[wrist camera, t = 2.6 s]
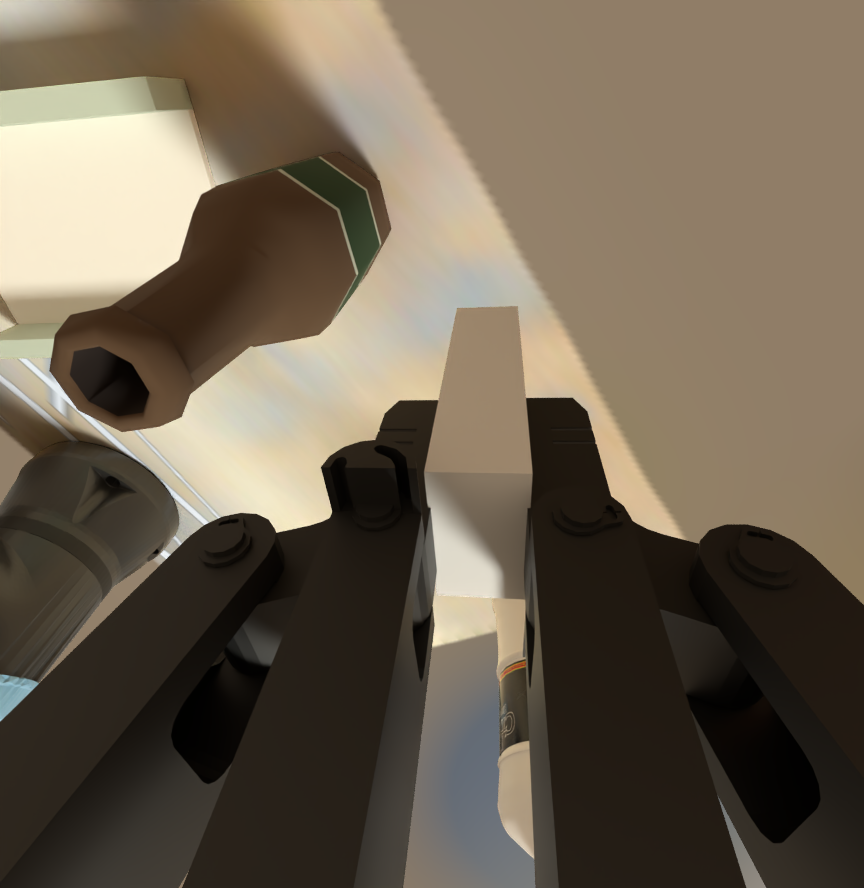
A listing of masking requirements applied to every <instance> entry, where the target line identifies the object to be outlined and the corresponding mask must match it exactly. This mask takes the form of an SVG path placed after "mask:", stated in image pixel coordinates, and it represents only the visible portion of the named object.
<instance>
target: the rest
mask: <svg viewBox="0 0 864 888" xmlns="http://www.w3.org/2000/svg"><path fill="white" fill-rule="evenodd" d="M214 187H216V186H215V183H214V179H213V176H212V173H211V169H210V166H209V162H208V159H207V155H206V152H205V149H204V145H203V142H202V138H201V135H200V132H199V128H198V125H197V121H196V118H195V114H194V111H193V108H192V104H191V101H190V97H189V94H188V90H187V87H186V84H185V80H184V79H177V78H163V77H149V76H142V77H132V78H123V79H113V80H103V81H94V82H84V83H74V84H65V85H55V86H45V87H36V88H26V89H16V90H7V91H0V294H1V296H2V298H3V300H4V301H5V303H6V305H7V306H8V308H9V310H10V311H11V313H12V315H13V317H14V318H15V320H16V322H17V323H18V324H17V325H15V326H13V327H11V328H9V329H7V330H4V331H2V332H0V359H20V358H51V357H52V351H53V344H54V337H55V334H56V332H57V331H58V330H59V329H60V327H61V326H62V325H63V323H64V322H65V321H66V320H67V318H68V317H69V316H70V315H72V314H76V313H81V312H86V311H90V310H95V309H100V308H105V307H109V306H111V305H113V304H114V303H116V302H117V301H119V300H120V299H122V298H123V297H125V296H126V295H128V294H129V293H131V292H132V291H134V290H135V289H137V288H138V287H140V286H141V285H143V284H144V283H146V282H147V281H149V280H150V279H152V278H153V277H155V276H156V275H158V274H159V273H161V272H162V271H164V270H165V269H167V268H168V267H170V266H171V265H173V264H174V263H176V262H177V261H178V260H179V258H180V255H181V251H182V248H183V244H184V241H185V238H186V234H187V231H188V228H189V224H190V221H191V217H192V214H193V211H194V209H195V207H196V205H197V203H198V200H199V198H200V196H201V194H203V193H205V192H207V191H209V190H210V189H212V188H214Z"/></svg>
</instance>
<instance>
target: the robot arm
mask: <svg viewBox="0 0 864 888" xmlns="http://www.w3.org/2000/svg"><path fill="white" fill-rule="evenodd" d="M321 469H322V473H323V477H324V481H325V485H326V489H327V492H328V496H329V500H330V504H331V508H332V514H331V517H330V518H329V519H327V520H325V521H323V522H320V523H317V524H314V525H310V526H306V527H302V528H297V529H292V530H288V531H283V532H278V533H276V531H275V529H274V527H273V526H272V524H271V523H270V521H269V520H268V519H266V518H264V517H262V516H260V515H257V514H248V513H238V514H234V515H229V516H224V517H221V518H219V519H217V520H214V521H212V522H210V523H208V524H206V525H204V526H203V527H201V528H200V529H199V530H197V531H196V532H195V533H193V534H192V535H191V536H190V537H189V538H188V539H186V540H185V541H184V542H183V543H182V544H181V545H180V546H179V547H178V548H177V549H176V550H175V551H174V552H173V553H172V554H171V555H170V556H169V557H168V558H167V559H166V560H165V561H164V562H163V563H162V564H161V565H160V566H159V567H158V568H157V569H156V570H155V571H154V572H153V573H152V574H151V575H150V576H149V577H148V578H147V579H146V580H145V581H144V582H143V583H142V584H140V585H139V586H138V587H137V588H136V589H135V590H134V591H133V592H132V593H131V594H130V596H128V597H127V598H126V599H125V600H124V601H123V602H122V603H121V604H120V605H119V606H118V607H117V608H116V609H115V610H114V611H113V612H112V613H111V614H110V615H109V616H108V617H107V618H106V619H105V620H104V621H103V622H102V623H101V624H100V625H99V626H98V627H96V629H94V630H93V632H91V634H89V635H88V636H87V637H86V638H85V639H84V640H83V641H82V642H81V643H80V644H79V645H78V646H77V647H76V648H75V649H74V650H73V651H72V652H71V653H70V654H69V655H68V656H67V657H66V658H65V659H64V660H63V661H62V662H61V663H60V664H59V665H58V666H57V667H56V668H55V669H54V670H53V671H51V673H49V674H48V675H47V677H45V678H44V679H43V680H42V681H41V679H42V678H43V677H44V676H45V674H46V673H47V672H48V671H49V669H50V668H51V667H52V665H53V664H54V663H55V661H56V660H57V659H58V658H59V656H60V655H61V654H62V652H63V651H64V650H65V648H66V647H67V646H68V645H69V643H70V642H71V641H72V639H73V638H74V637H75V635H76V634H77V633H78V632H79V630H80V629H81V628H82V626H83V625H84V624H85V623H86V621H87V620H88V619H89V617H90V616H91V615H92V613H93V612H94V611H95V610H96V608H97V607H98V606H99V604H100V603H101V602H102V600H103V599H104V598H105V596H106V595H107V594H108V593H109V592H110V590H111V589H112V588H113V587H114V586H115V585H117V584H118V583H119V582H121V581H122V580H124V579H125V578H127V577H128V576H130V575H131V574H132V573H134V572H135V571H137V570H138V569H139V568H141V567H142V566H143V565H145V564H146V563H147V562H148V561H150V560H152V559H154V558H155V557H157V556H158V555H159V554H160V553H161V552H162V551H163V550H164V549H165V548H166V547H167V545H168V544H169V543H170V541H171V540H172V538H173V537H174V536H175V534H176V532H177V530H178V526H179V515H178V510H177V507H176V505H175V503H174V500H173V499H172V497H171V495H170V494H169V492H168V491H167V490H166V488H165V487H164V486H163V485H162V484H161V482H160V481H159V480H158V479H157V478H156V477H155V476H153V475H152V474H151V473H150V472H149V471H148V470H146V469H145V468H144V467H142V466H141V465H139V464H138V463H136V462H135V461H133V460H132V459H130V458H128V457H126V456H124V455H122V454H120V453H118V452H116V451H113V450H111V449H108V448H105V447H102V446H99V445H95V444H91V443H85V442H61V443H57V444H53V445H51V446H49V447H47V448H45V449H44V450H42V451H41V452H40V453H39V454H37V455H36V456H35V457H33V458H32V459H31V460H30V461H29V462H27V464H25V466H24V467H23V468H22V469H21V471H20V473H19V476H18V478H17V480H16V481H15V483H14V484H13V486H12V487H11V489H10V490H9V492H8V494H7V495H6V497H5V498H4V500H3V502H2V503H1V505H0V888H179V886H180V884H181V883H182V881H183V879H184V878H185V876H186V874H187V873H188V875H187V877H186V880H185V882H184V884H183V887H182V888H403V884H404V875H405V867H406V859H407V850H408V842H409V833H410V826H411V817H412V809H413V800H414V792H415V784H416V775H417V767H418V759H419V750H420V741H421V734H422V724H423V717H424V709H425V700H426V692H427V684H428V675H429V667H430V659H431V650H432V642H433V633H434V615H433V606H432V605H433V597H434V589H435V582H436V592H437V595H441V596H461V597H482V598H502V599H523V600H525V608H526V610H525V626H524V641H523V657H525V658H526V681H527V704H528V726H529V749H530V772H531V794H532V817H533V840H534V861H535V885H536V888H746V886H745V882H744V879H743V876H742V873H741V870H740V866H739V863H738V860H737V857H736V854H735V850H734V847H733V844H732V841H731V838H730V834H729V831H728V828H727V825H726V822H725V818H724V815H723V812H722V809H721V805H720V802H719V799H718V797H719V798H720V800H721V802H722V804H723V806H724V808H725V810H726V812H727V814H728V815H729V817H730V819H731V821H732V823H733V825H734V827H735V829H736V831H737V833H738V835H739V837H740V838H741V840H742V842H743V844H744V846H745V848H746V850H747V852H748V854H749V856H750V858H751V859H752V861H753V863H754V865H755V867H756V869H757V871H758V873H759V874H760V877H761V878H762V880H763V882H764V884H765V886H766V888H864V605H863V604H862V603H861V602H860V601H859V600H858V599H857V598H856V597H855V596H854V595H853V594H852V593H851V592H850V591H849V590H848V589H847V588H846V587H845V586H843V584H842V583H841V582H839V581H838V580H837V579H836V578H835V577H834V576H833V575H832V574H831V573H830V572H829V571H828V570H827V569H826V568H825V567H824V566H823V565H822V564H821V563H820V562H819V561H818V560H817V559H816V558H815V557H814V556H813V555H812V554H810V553H809V552H807V551H806V550H805V549H804V548H802V547H801V546H799V545H798V544H797V543H796V542H794V541H793V540H791V539H788V538H786V537H784V536H782V535H780V534H778V533H776V532H774V531H771V530H768V529H763V528H760V527H755V526H751V525H724V526H720V527H717V528H714V529H711V530H709V531H708V533H707V534H706V535H705V536H704V537H703V538H702V539H701V540H700V543H699V544H698V543H694V542H690V541H686V540H682V539H678V538H674V537H671V536H667V535H663V534H660V533H657V532H654V531H651V530H648V529H646V528H644V527H642V526H640V525H639V524H637V523H635V522H633V521H632V519H631V517H630V516H629V514H628V512H627V511H626V509H625V507H624V506H623V505H622V504H620V503H619V502H618V501H617V500H615V499H614V498H613V497H611V494H610V491H609V487H608V483H607V480H606V476H605V473H604V469H603V466H602V462H601V459H600V455H599V452H598V448H597V444H595V437H594V434H593V431H592V427H591V423H590V420H589V416H588V412H587V411H586V410H585V409H584V408H583V407H582V406H581V405H580V404H579V403H578V402H577V401H575V400H574V399H573V398H526V394H525V383H524V372H523V360H522V349H521V338H520V327H519V316H518V306H510V307H478V308H457V311H456V316H455V321H454V326H453V331H452V336H451V341H450V346H449V351H448V356H447V361H446V366H445V371H444V375H443V380H442V385H441V390H440V395H439V400H409V401H398V402H397V403H396V404H395V405H394V406H393V407H392V408H391V409H390V410H388V411H387V412H386V413H385V415H384V418H383V421H382V423H381V426H380V432H378V434H377V437H376V440H371V441H362V442H358V443H355V444H352V445H349V446H346V447H343V448H342V449H340V450H339V451H337V452H336V453H334V454H332V455H331V456H330V457H329V458H328V459H327V460H326V462H325V463H324V464H323V465H322V467H321ZM40 681H41V682H40ZM39 682H40V683H39ZM717 795H718V796H717ZM188 871H189V872H188Z"/></svg>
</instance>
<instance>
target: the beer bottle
mask: <svg viewBox="0 0 864 888" xmlns="http://www.w3.org/2000/svg"><path fill="white" fill-rule="evenodd" d="M390 231H391V225H390V221H389V217H388V213H387V209H386V205H385V201H384V197H383V193H382V189H381V185H380V181H379V180H377V179H376V178H375V177H373V176H372V175H370V174H369V173H368V172H366V171H365V170H363V169H362V168H361V167H359V166H358V165H356V164H355V163H354V162H352V161H351V160H349V159H348V158H347V157H345V156H344V155H342V154H341V153H340V152H335V153H329V154H325V155H321V156H317V157H314V158H310V159H306V160H302V161H298V162H294V163H291V164H287V165H283V166H280V167H277V168H274V169H270V170H267V171H264V172H260V173H257V174H254V175H251V176H247V177H244V178H241V179H237V180H234V181H231V182H228V183H224V184H221V185H218V186H216V187H214V188H212V189H210V190H209V191H207V192H205V193H203V194H201V196H200V198H199V200H198V203H197V205H196V207H195V209H194V211H193V214H192V217H191V221H190V224H189V228H188V231H187V234H186V238H185V241H184V244H183V248H182V251H181V255H180V258H179V260H178V261H177V262H176V263H174V264H173V265H171V266H170V267H168V268H167V269H165V270H164V271H162V272H161V273H159V274H158V275H156V276H155V277H153V278H152V279H150V280H149V281H147V282H146V283H144V284H143V285H141V286H140V287H138V288H137V289H135V290H134V291H132V292H131V293H129V294H128V295H126V296H125V297H123V298H122V299H120V300H119V301H117V302H116V303H114V304H113V305H111V306H109V307H105V308H100V309H95V310H90V311H86V312H81V313H76V314H72V315H70V316H69V317H68V318H67V320H66V321H65V322H64V323H63V325H62V326H61V327H60V329H59V330H58V331H57V332H56V334H55V337H54V344H53V351H52V357H51V364H50V370H49V371H50V372H51V373H52V375H53V376H54V378H55V379H56V380H57V382H58V383H59V384H60V386H61V387H62V388H63V390H64V391H65V393H66V394H67V395H68V397H69V398H70V399H71V401H72V402H73V404H74V405H75V406H76V408H77V409H78V410H79V411H81V412H83V413H85V414H87V415H89V416H91V417H93V418H95V419H97V420H99V421H101V422H103V423H105V424H107V425H109V426H111V427H113V428H115V429H117V430H119V431H121V432H126V431H133V430H140V429H146V428H153V427H160V426H162V425H164V424H166V423H169V422H171V421H173V420H176V419H178V418H180V417H182V414H183V412H184V409H185V406H186V404H187V401H188V399H189V396H190V394H191V393H192V392H194V391H195V390H196V389H197V388H199V387H200V386H201V385H202V384H204V383H205V382H206V381H207V380H209V379H210V378H211V377H212V376H214V375H215V374H216V373H217V372H219V371H220V370H221V369H222V368H224V367H225V366H226V365H227V364H229V363H230V362H231V361H232V360H234V359H235V358H236V357H237V356H239V355H240V354H241V353H242V352H244V351H245V350H246V349H247V348H249V347H250V346H253V347H256V346H262V345H267V344H273V343H278V342H284V341H290V340H295V339H301V338H306V337H311V336H315V335H319V334H320V333H321V332H322V331H323V330H324V329H326V328H327V327H328V326H329V325H330V324H331V323H332V321H333V320H334V318H335V317H336V316H337V314H338V313H339V312H340V310H341V309H342V308H343V306H344V305H345V303H346V302H347V301H348V299H349V298H350V297H351V295H352V294H353V292H354V291H355V290H356V288H357V287H358V286H359V284H360V283H361V282H362V280H363V279H364V277H365V276H366V275H367V273H368V271H369V269H370V268H371V266H372V264H373V262H374V260H375V258H376V257H377V255H378V253H379V251H380V249H381V248H382V246H383V244H384V242H385V240H386V238H387V237H388V235H389V233H390Z"/></svg>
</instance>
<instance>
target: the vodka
mask: <svg viewBox="0 0 864 888" xmlns="http://www.w3.org/2000/svg"><path fill="white" fill-rule="evenodd" d="M492 605H493V611H494V613H495V616H496V625H497V636H498V648H499V657H498V666H497V677H498V680H499V746H500V757H499V760H498V767H499V769H500V774H499V790H498V805H497V806H498V811H499V814H500V818H501V822H502V824H503V826H504V828H505V830H506V832H507V833H508V835H510V837H511V838H512V839H513V840H515V841H516V842H517V843H518V844H519V845H520V846H521V847H522V848H523V849H524V850H525V851H526V852H527V853H528V854H529V855H530V856H531V857H533V858H534V840H533V817H532V794H531V772H530V749H529V726H528V704H527V681H526V658H525V657H523V641H524V626H525V610H526V608H525V600H523V599H502V598H492Z"/></svg>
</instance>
